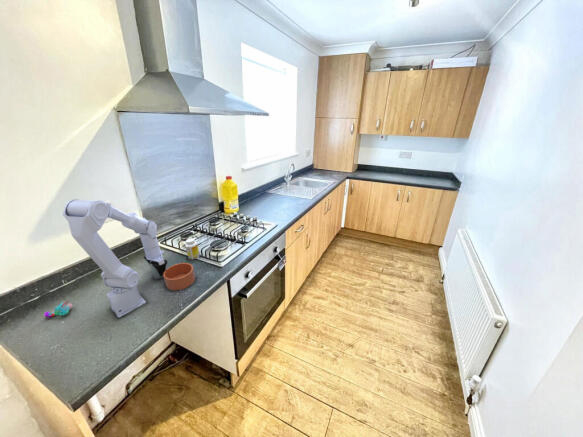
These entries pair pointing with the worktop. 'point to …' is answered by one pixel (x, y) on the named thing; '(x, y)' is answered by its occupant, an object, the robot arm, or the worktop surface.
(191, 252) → the supplement bottle
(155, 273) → the steel cup
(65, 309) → the multicoloured toy
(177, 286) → the terracotta round bowl
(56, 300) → the worktop surface
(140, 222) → the robot arm
